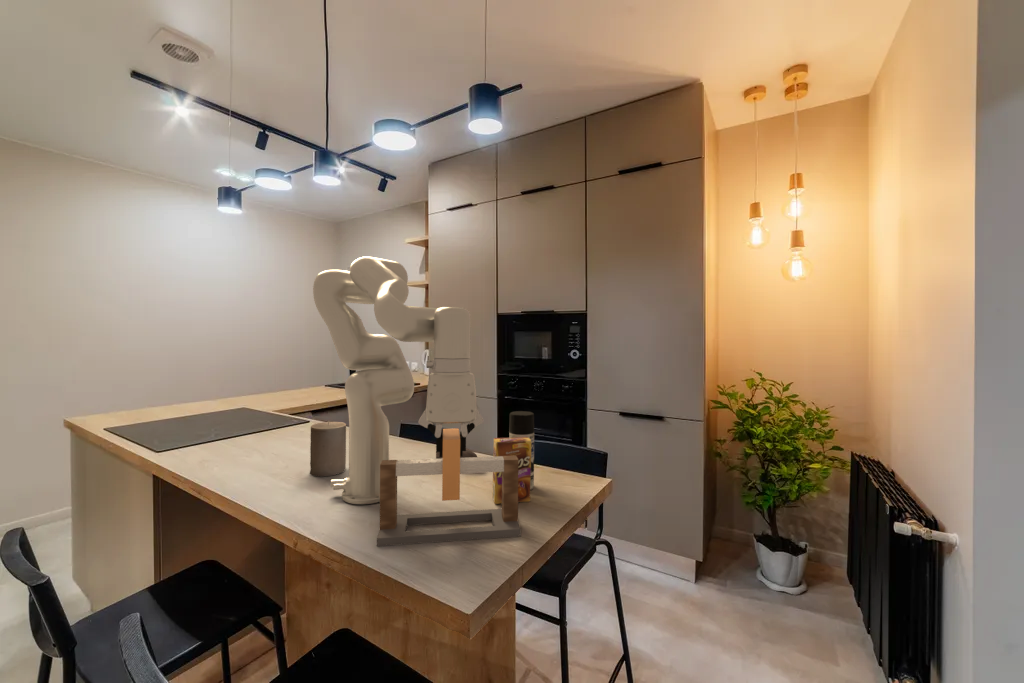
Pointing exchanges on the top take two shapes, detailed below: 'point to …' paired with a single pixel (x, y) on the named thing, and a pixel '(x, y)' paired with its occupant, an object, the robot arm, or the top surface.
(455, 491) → the orange angular block
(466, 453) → the perforated stone tool
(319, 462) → the pillar candle
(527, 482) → the candy box
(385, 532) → the crossbar rack
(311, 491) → the top surface
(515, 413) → the spray can
